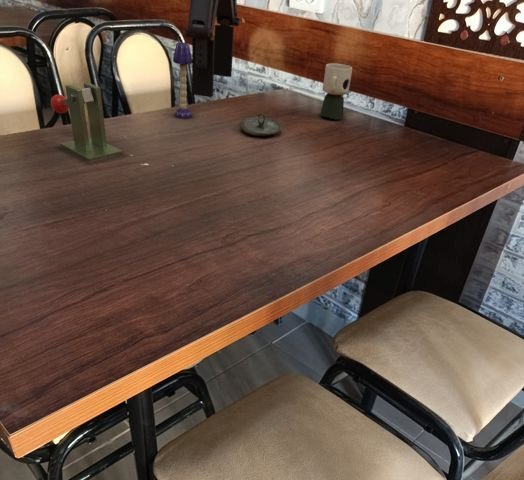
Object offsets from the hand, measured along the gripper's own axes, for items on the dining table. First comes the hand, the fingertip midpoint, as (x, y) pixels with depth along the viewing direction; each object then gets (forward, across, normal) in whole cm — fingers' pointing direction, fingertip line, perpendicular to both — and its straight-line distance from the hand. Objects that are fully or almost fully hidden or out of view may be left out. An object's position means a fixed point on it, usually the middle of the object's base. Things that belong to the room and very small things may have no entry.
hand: (213, 85), depth 73 cm
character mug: (+20, +73, -19) cm, 78 cm away
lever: (+14, +27, +35) cm, 46 cm away
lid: (+21, +52, -2) cm, 56 cm away
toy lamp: (+21, +57, +19) cm, 64 cm away
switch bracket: (+21, +24, +31) cm, 45 cm away
